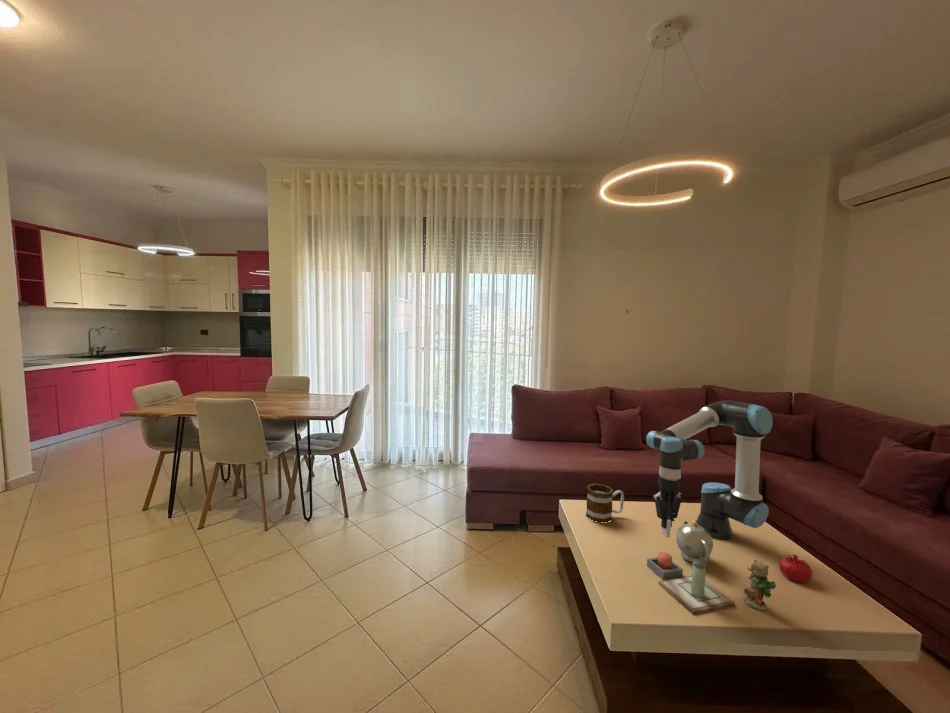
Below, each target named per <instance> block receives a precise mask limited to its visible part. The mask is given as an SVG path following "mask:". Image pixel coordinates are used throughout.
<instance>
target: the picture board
mask: <svg viewBox="0 0 950 713" xmlns="http://www.w3.org/2000/svg"><path fill="white" fill-rule="evenodd" d="M657 584H658V585H659V587H661V588H662V589H664V591H666V592H667V593H668V594H669V595H670V596H672V597H673V599H674V600H676V601H677V602H678V603H679V604H681V606H683V607H684V608H685V609H686V610H688V612H690V613H691V614H692V615H696V614H701V613H706V612H711V611H716V610H720V609H726V608H730V607H734V606H736V602H734V601H733V600H732V599H730V598H729V597H728V596H726V595H725V594H724V593H722V592H721V591H720V590H718V589H717V588H715V587H714V586H713V585H712V584H710V583H709V582H708V581H707V580H705V591H704V598H703V599H698V598H696V597H694V596H693V595H692V594H691V587H692V575H687V576H682V577H678V578H672V579H666V580H663V579H662V580H659V581H658V583H657Z"/></svg>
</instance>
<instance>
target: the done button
mask: <svg viewBox="0 0 950 713" xmlns="http://www.w3.org/2000/svg"><path fill="white" fill-rule="evenodd" d="M657 557H658V566H659V567H660V568H661V569H663V570H670V569H671V568H672V561H673V556H672V555H671V554H669V553H668V552H663V551H661V552H658V554H657Z"/></svg>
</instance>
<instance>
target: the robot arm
mask: <svg viewBox="0 0 950 713" xmlns="http://www.w3.org/2000/svg"><path fill="white" fill-rule="evenodd" d="M771 413H772V412H771V411H770V410H769V409H768V408H767V407H765V406H762V405H758V404H754V403H749V402H748V403H746V402H740V401H734V400H720V401H717V402H714V403H710V404H708V405H705V406H703V407H701V408H700V409H699V411H698V412H696V413H695V414H692V415H690V416H689V417H687V418H685V419H683V420H681V421H679V422H676V423H675V424H673V425H671V426H669V427H668V428H665V429H663V430H661V431H658V430H656V431H655V430H651V431H649V432H648V433H647V434H646V439H645V440H646V445H647V446H648V447H650V448H652V449H654V450H657V451H660V452H659V453H660V456H659V457H660V459H659V468H658V469H659V471H658V474H659V475H658V486H659V488H658V490H657V491H658V492H657V493H656V494H654V493H653V495H652V498H653V500H654V504H655V511H656V517H657V518H658V519H660V520H661V523H660V526H661V534H662V535H663V536H664V537H665V538H670V537H671V529H672V527H673V522H675V519H677V518H678V515H679V511H680V508H681V505H682V500H683V498H684V496H685V495H684V494H683V493H682V492H680V488H681V475H682V474H681V473H682V463H683V462H685V461H694V460H695V461H696V460H698V459H702V457H703V456H705V447H704V444H703V443H702V442H701V441H699V440H697V439H690V438H691V437H692V436H695V435H697V434H699V433H701V432H702V431H705V430H707V429H708V428H714V427H717V426H727V427H731V428H732V434H733V435H735V437H736V443H735V444H736V445H735V446H736V448H735V471H734V472H735V474H734V476H735V477H734V488H731V486H730V485H728V484H726V483H721V482H705V483H703V484H702V487H701V492H700V493H701V494H700V495H701V496H700V512H699V514H698V516H697V519H696V520H695V521H697V523H698V525H699V526H701V527H703V528H704V529H705V530H706V531H707V532H708V533H709V534H710V536H711V538H712V539H713V538H714V539H718V540H729V539H731V538H732V537H733V529H732V527H731V522H730V519H731V520H734V521H735V522H736V521H737V522H739V523H741V524H743V525H744V526H748V527H751V528H753V529H758V528H760V527H762V526H763V524H765V522H766V521H767V519H768V516H769V513H770V512H769V511H770V510H769V509H770V508H769V506H768V505H767V504H765V502H763V499H764V498H763V495H762V494H760V492H759V487H760V486H759V485H760V466H761V464H760V463H761V462H760V461H761V460H760V459H761V440H763V439H765V437H766V435H767V434H769V433H770V432H771V431H772V428H773V422H774V421H773V416H772V414H771ZM688 439H689V440H688Z"/></svg>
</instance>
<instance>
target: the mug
mask: <svg viewBox="0 0 950 713" xmlns="http://www.w3.org/2000/svg"><path fill="white" fill-rule="evenodd" d="M586 491H587V495H586V497H587V498H586V511H585V512H586V513H585V518H586V517H588V518H590V519H591V520H593V521H597V522H604V523H605V522H608V521H610V520H612V519H613V518H612V514H613V513H615V514H620V513H622V512H623V509H624V502H625V500H624V499H625V494H624V492H623V491H622V490H620V489H618V490H615V491H614V488H612V487H610V486H609V485H606V484H599V483H591V484H588V485H587V486H586ZM618 494H620V502H619V503H620V505H619V508H618V509H617V510H615V509H613V498H614V497H616V496H617V495H618ZM591 520H590V521H591ZM612 521H613V520H612Z"/></svg>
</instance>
